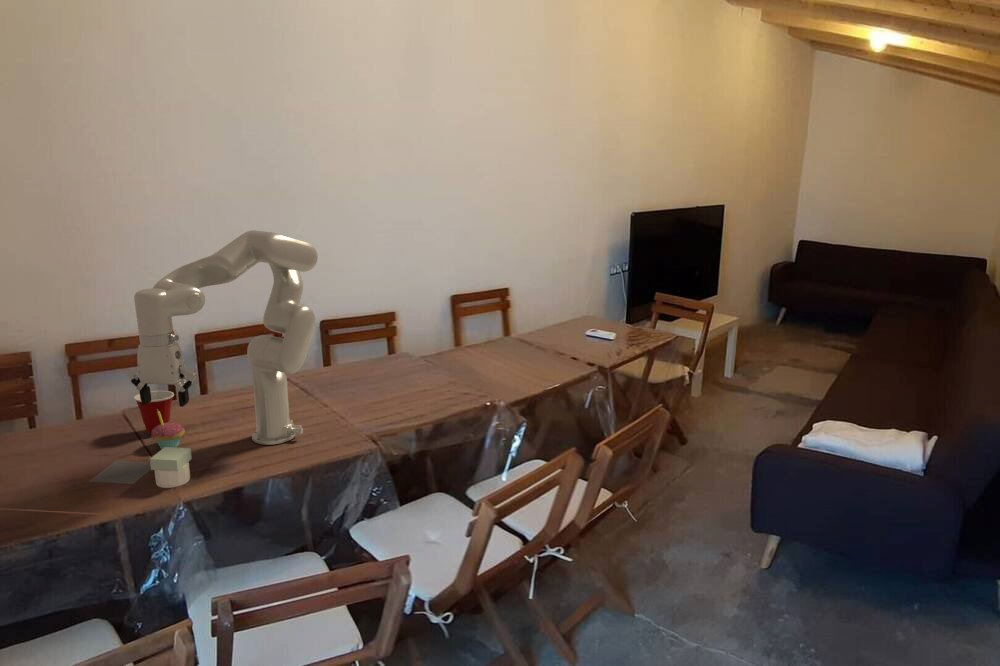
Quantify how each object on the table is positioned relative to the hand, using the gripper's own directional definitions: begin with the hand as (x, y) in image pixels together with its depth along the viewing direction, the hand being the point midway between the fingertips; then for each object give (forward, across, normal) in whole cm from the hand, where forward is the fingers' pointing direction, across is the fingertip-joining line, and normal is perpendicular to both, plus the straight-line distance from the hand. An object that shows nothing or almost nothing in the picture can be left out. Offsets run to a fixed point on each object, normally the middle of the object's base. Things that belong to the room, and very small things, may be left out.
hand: (165, 403), depth 168 cm
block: (+17, 0, 0) cm, 17 cm away
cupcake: (+22, +12, -20) cm, 32 cm away
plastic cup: (+22, +21, -30) cm, 42 cm away
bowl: (+22, 0, 0) cm, 22 cm away
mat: (+22, +15, -2) cm, 26 cm away
